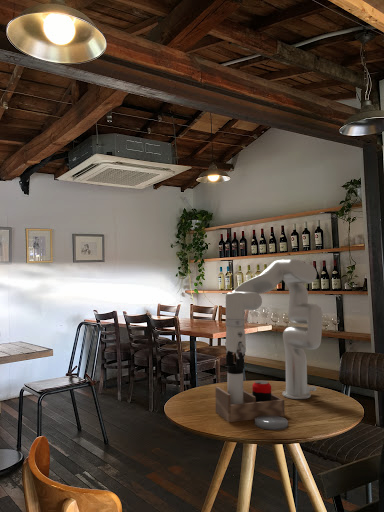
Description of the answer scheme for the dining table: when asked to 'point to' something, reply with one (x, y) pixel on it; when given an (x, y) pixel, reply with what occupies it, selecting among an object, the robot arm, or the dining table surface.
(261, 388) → the soda can
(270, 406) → the walnut rack
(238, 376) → the travel mug
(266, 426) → the grey round plate
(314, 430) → the dining table surface
